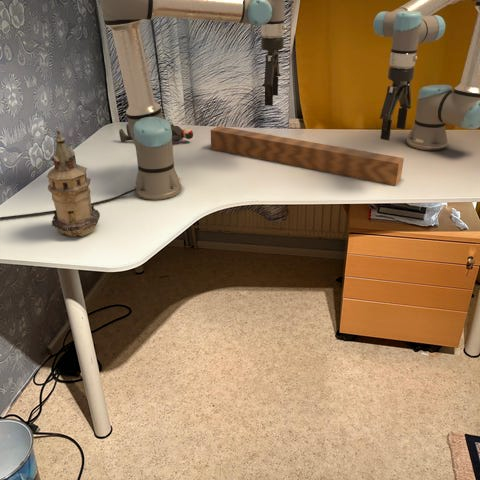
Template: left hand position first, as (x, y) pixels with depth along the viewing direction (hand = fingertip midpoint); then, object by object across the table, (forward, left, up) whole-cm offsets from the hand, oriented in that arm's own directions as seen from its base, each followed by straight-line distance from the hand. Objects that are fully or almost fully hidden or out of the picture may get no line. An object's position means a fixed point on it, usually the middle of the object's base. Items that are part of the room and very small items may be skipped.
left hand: (271, 100), depth 189 cm
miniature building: (-63, -46, -23) cm, 81 cm away
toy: (-43, +29, -23) cm, 57 cm away
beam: (+10, -3, -23) cm, 25 cm away
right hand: (+37, -24, -6) cm, 44 cm away
